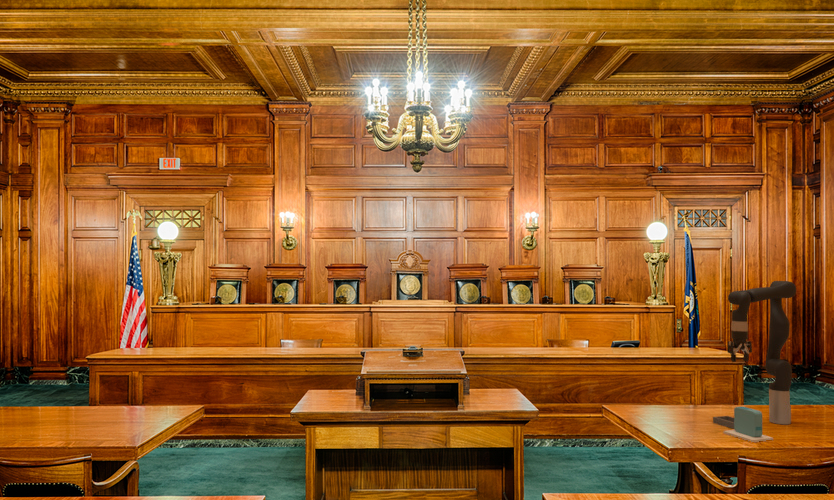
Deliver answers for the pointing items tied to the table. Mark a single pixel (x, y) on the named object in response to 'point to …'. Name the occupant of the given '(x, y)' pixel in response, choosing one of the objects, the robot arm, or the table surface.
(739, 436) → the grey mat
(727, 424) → the holder box
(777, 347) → the robot arm
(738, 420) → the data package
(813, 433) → the table surface
